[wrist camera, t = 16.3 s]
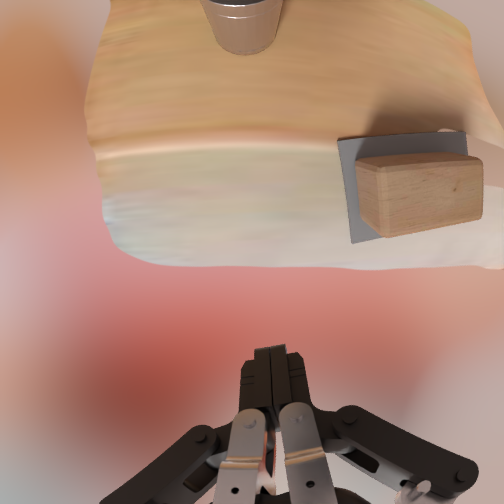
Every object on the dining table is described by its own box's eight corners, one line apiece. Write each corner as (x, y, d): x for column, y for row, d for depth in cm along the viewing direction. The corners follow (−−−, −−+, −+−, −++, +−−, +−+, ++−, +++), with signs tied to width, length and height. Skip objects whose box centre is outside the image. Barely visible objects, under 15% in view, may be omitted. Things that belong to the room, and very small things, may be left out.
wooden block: (378, 165, 29) (485, 158, 28) (351, 158, 39) (448, 151, 37) (383, 241, 33) (484, 220, 31) (358, 219, 42) (450, 204, 41)
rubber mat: (337, 141, 38) (338, 141, 38) (463, 131, 35) (465, 131, 35) (351, 242, 45) (352, 243, 44) (467, 216, 42) (469, 217, 41)
